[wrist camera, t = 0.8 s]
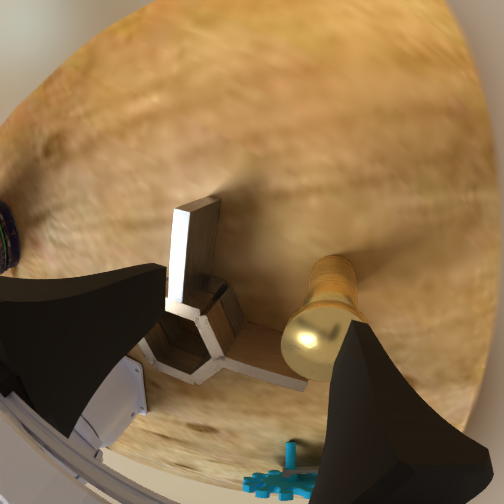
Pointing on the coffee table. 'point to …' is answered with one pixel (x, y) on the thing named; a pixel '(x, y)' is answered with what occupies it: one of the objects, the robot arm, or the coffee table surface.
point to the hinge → (209, 313)
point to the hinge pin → (322, 319)
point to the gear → (284, 479)
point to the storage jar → (8, 239)
